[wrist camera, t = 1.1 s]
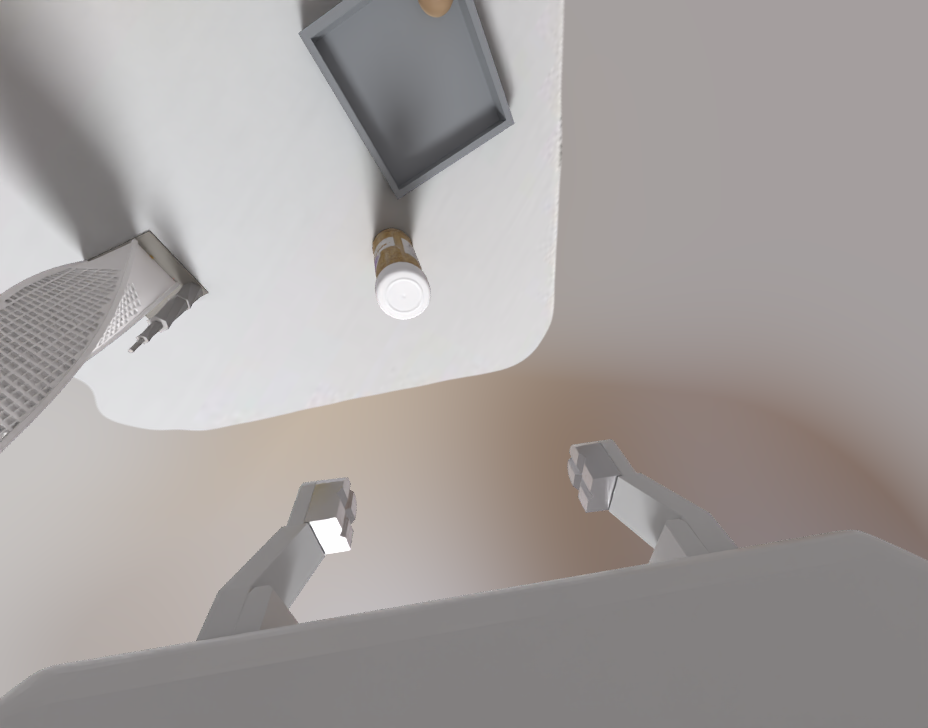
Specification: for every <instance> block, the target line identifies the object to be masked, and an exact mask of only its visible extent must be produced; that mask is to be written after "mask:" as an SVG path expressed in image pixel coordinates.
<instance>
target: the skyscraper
mask: <svg viewBox="0 0 928 728" xmlns="http://www.w3.org/2000/svg"><path fill="white" fill-rule="evenodd" d="M207 293H208V292H207V291H206V289H205V288H204V287H203V286H202V285H201V284H200V283H199V282H198V281H197V280H196V279H195V278H194V277H193V276H192V275H191V274H190V273H189V272H188V271H187V269H186V268H185V267H184V266H183V265H182V264H181V263H180V262H179V261H178V260H177V259H176V258H175V257H174V256H173V255H172V254H171V253H170V252H169V250H168V249H167V248H166V247H165V246H164V245H163V244H162V243H161V242H160V241H159V240H158V239H157V238H156V237H155V236H154V235H153V234H152V233H151V231H149V232H146V233H144V234H142V235H140V236H138V237H136V238H134V239H132V240H130V241H127V242H125V243H123V244H121V245H119V246H117V247H115V248H113V249H111V250H108V251H106V252H104V253H102V254H100V255H98V256H96V257H94V258H92V259H90V260H84V261H79V262H75V263H70V264H66V265H62V266H59V267H55V268H52V269H49V270H46V271H43V272H41V273H38V274H36V275H34V276H31V277H29V278H27V279H25V280H23V281H21V282H20V283H18V284H16V285H14V286H13V287H11V288H9V289H8V290H6V291H5V292H3V293H2V294H0V453H1V452H2V451H3V450H4V449H5V448H6V447H7V446H8V445H9V444H10V443H11V442H12V441H13V440H14V439H15V438H16V437H17V436H18V435H19V434H20V433H21V432H22V431H23V430H24V429H25V428H26V427H27V426H28V425H29V424H30V423H32V422H33V420H34V419H35V418H36V417H37V416H38V415H39V414H40V413H41V412H42V411H43V410H44V409H45V408H46V407H47V406H48V405H49V404H50V403H51V402H52V401H53V399H54V398H55V397H56V396H57V395H58V394H59V393H60V392H61V390H62V389H63V388H64V387H65V386H66V385H67V384H68V382H69V381H70V380H71V379H72V378H73V376H74V375H75V374H76V373H77V371H78V370H79V369H80V368H81V366H82V365H83V364H84V363H85V362H86V361H88V360H89V359H91V358H92V357H94V356H95V355H96V354H98V353H99V352H100V351H102V350H103V349H104V348H106V347H107V346H108V345H110V344H111V343H112V342H113V341H115V340H116V339H117V338H119V337H120V336H121V335H122V334H124V333H125V332H126V331H127V330H129V329H130V328H131V327H132V326H133V325H135V324H136V323H137V322H138V321H139V320H141V319H142V318H143V317H144V316H146V317H147V318H148V320H147V323H148V325H149V326H148V327H147V328H146V330H145V331H144V332H143V333H142V334H140V335H139V336H137V337H136V339H137V342H136V343H135V344H134V345H133V346H132V347H131V348H130V349H128V352H129V353H133V352H134V351H135V350H136V349H137V348H138V347H139V346H140V345H141V344H146V343H148V342H149V341H150V339H151V338H152V337H153V336H154V335H155V334H156V333H157V332H160V333H161V332H163V331H165V330H167V329H169V327H170V326H171V324H172V322H173V321H174V320H175V319H176V318H178V317H179V316H180V315H181V314H182V313H183V312H184V311H186V310H188V309H190V308H191V306H192V304H193V303H194V302H195V301H196V300H197V299H199V298H200V297H201V296H203V295H205V294H207ZM3 435H5V436H4V437H3ZM2 437H3V438H2Z"/></svg>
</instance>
